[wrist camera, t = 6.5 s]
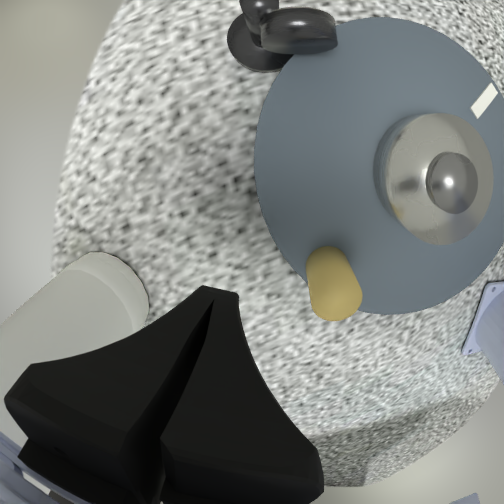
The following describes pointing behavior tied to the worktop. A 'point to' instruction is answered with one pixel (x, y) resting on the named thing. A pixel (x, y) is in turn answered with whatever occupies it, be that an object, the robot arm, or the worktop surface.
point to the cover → (434, 176)
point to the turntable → (370, 166)
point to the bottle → (69, 323)
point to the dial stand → (278, 34)
